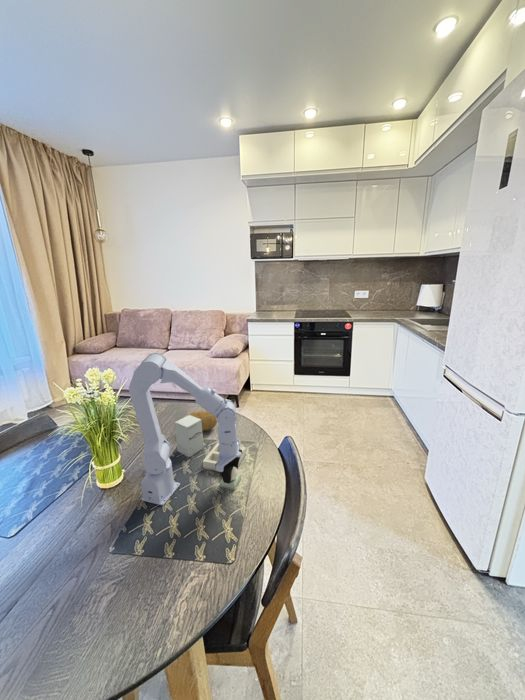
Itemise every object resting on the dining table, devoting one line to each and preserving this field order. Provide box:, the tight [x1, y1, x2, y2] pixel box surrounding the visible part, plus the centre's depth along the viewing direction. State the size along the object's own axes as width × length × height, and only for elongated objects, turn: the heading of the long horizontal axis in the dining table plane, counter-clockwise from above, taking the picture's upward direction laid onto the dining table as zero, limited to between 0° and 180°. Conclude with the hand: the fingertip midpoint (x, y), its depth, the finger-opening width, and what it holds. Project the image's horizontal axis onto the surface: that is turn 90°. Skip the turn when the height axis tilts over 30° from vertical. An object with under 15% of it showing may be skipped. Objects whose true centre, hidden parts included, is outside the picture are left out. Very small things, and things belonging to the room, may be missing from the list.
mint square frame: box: [219, 473, 242, 491], centre depth 96 cm, size 5×5×2 cm
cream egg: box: [231, 466, 239, 481], centre depth 96 cm, size 5×5×5 cm
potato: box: [188, 410, 218, 432], centre depth 129 cm, size 10×14×8 cm
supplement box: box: [173, 414, 205, 458], centre depth 114 cm, size 7×7×13 cm
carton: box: [202, 442, 247, 472], centre depth 107 cm, size 12×12×3 cm
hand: (230, 476), depth 96 cm, fingers closed on cream egg, 5 cm apart
